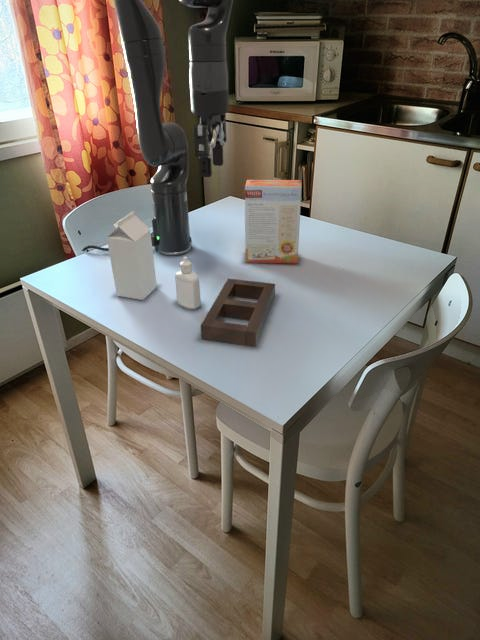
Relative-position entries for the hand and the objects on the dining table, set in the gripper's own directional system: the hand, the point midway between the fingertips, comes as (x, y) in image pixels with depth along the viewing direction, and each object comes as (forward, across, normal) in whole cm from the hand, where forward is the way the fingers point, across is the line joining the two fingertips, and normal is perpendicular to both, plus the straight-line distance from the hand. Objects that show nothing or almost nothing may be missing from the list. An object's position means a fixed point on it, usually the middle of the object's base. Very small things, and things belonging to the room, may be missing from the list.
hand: (212, 170), depth 102 cm
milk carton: (+28, +7, -18) cm, 34 cm away
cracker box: (+28, -18, +10) cm, 35 cm away
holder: (+28, +12, +9) cm, 32 cm away
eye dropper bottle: (+28, +10, -4) cm, 30 cm away
